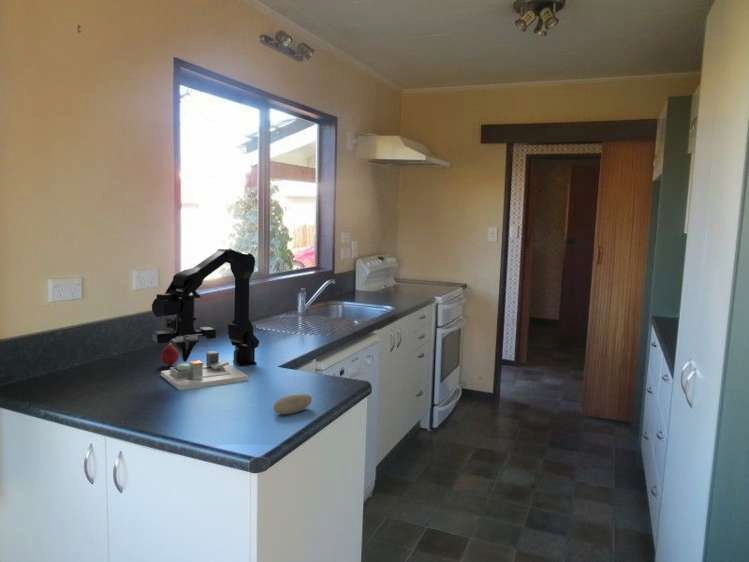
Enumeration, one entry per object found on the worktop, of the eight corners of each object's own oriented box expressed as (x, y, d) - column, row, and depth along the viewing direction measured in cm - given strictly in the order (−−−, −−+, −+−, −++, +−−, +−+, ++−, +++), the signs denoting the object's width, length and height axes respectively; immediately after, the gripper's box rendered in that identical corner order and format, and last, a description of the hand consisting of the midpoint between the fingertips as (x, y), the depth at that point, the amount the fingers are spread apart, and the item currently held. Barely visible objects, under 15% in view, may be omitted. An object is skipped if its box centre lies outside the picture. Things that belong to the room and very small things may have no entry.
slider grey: (215, 364, 194) (215, 350, 193) (218, 367, 191) (218, 352, 191) (205, 366, 192) (206, 351, 191) (209, 368, 189) (209, 353, 189)
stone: (266, 405, 153) (295, 384, 162) (275, 426, 154) (304, 403, 163) (279, 403, 149) (308, 381, 159) (289, 425, 150) (317, 401, 160)
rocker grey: (224, 361, 192) (224, 359, 192) (229, 364, 189) (228, 362, 189) (210, 366, 189) (210, 364, 189) (214, 369, 186) (214, 367, 186)
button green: (188, 367, 184) (188, 362, 184) (193, 370, 181) (193, 366, 181) (175, 369, 182) (175, 364, 182) (179, 372, 178) (179, 367, 178)
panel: (225, 367, 198) (225, 357, 197) (247, 380, 184) (248, 369, 183) (161, 375, 185) (161, 364, 184) (179, 390, 170) (179, 379, 170)
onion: (172, 369, 193) (172, 345, 192) (157, 367, 194) (157, 344, 193) (181, 364, 198) (182, 342, 197) (166, 363, 199) (167, 340, 199)
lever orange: (199, 375, 180) (199, 360, 180) (202, 378, 178) (203, 362, 177) (189, 377, 178) (189, 361, 178) (192, 379, 176) (192, 363, 175)
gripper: (204, 307, 191) (204, 352, 193) (147, 310, 180) (147, 359, 182) (217, 312, 183) (216, 360, 184) (157, 316, 171) (157, 367, 173)
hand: (184, 361), depth 181 cm, fingers closed
